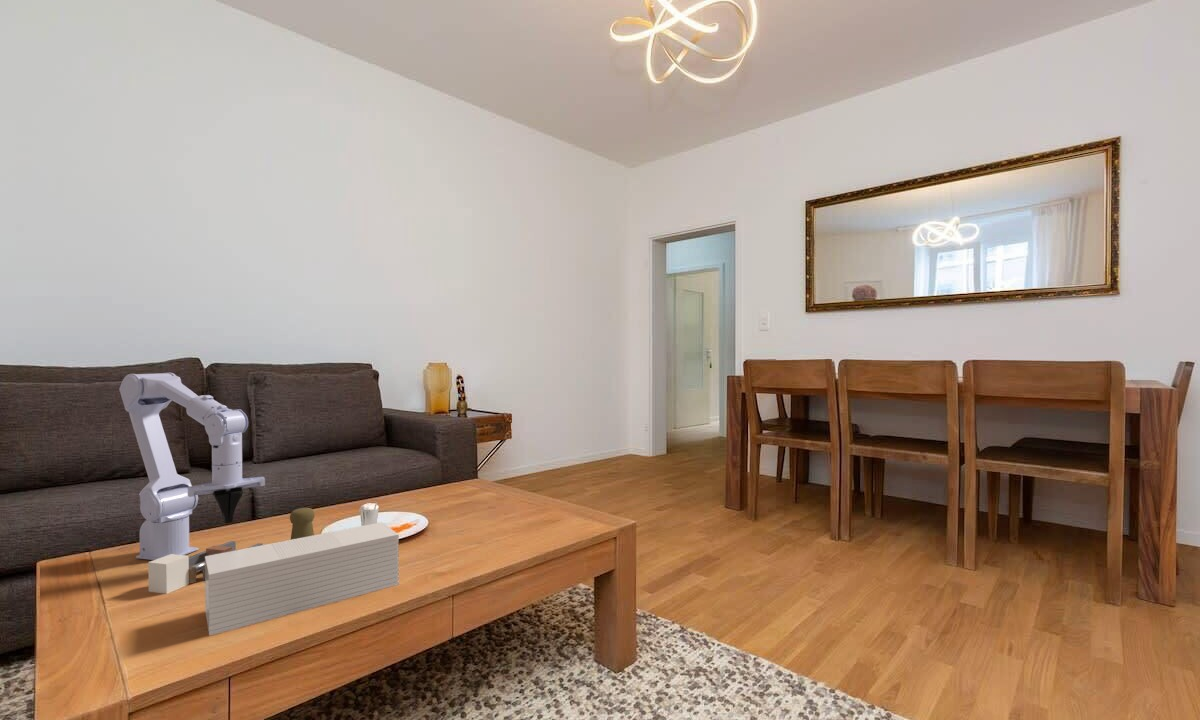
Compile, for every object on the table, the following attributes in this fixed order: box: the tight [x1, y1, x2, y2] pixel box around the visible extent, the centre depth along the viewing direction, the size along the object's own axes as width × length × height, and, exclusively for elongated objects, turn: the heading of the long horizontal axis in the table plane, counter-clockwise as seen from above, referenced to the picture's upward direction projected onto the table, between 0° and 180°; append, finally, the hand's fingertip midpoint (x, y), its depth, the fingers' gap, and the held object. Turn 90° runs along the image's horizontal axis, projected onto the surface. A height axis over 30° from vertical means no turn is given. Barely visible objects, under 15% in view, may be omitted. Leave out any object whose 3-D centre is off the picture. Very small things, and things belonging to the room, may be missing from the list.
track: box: [189, 540, 264, 581], centre depth 122 cm, size 9×14×3 cm, turn 167°
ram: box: [189, 545, 232, 584], centre depth 118 cm, size 6×10×4 cm, turn 167°
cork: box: [289, 507, 316, 540], centre depth 129 cm, size 6×6×11 cm
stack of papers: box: [204, 521, 400, 637], centre depth 106 cm, size 32×11×11 cm, turn 129°
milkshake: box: [359, 501, 380, 526], centre depth 139 cm, size 4×5×10 cm
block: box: [147, 554, 190, 594], centre depth 111 cm, size 5×5×6 cm
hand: (227, 521), depth 124 cm, fingers closed
